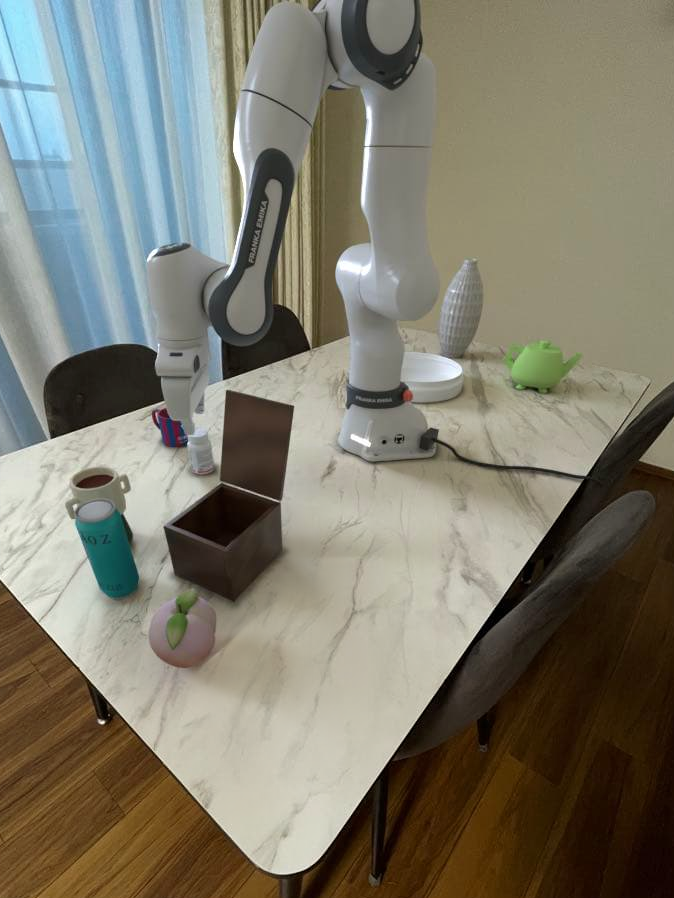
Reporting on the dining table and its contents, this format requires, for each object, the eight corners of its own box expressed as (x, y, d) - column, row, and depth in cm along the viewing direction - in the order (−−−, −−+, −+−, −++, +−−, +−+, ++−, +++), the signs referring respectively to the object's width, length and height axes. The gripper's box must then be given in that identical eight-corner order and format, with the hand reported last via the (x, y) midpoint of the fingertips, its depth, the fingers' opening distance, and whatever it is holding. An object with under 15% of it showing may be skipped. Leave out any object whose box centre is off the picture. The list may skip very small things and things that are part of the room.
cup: (175, 449, 106) (170, 421, 102) (148, 436, 111) (141, 409, 106) (198, 438, 110) (193, 411, 106) (170, 427, 115) (165, 400, 111)
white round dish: (447, 368, 149) (450, 351, 146) (473, 402, 128) (478, 383, 125) (362, 368, 148) (364, 351, 145) (375, 403, 127) (377, 383, 124)
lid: (291, 406, 66) (294, 405, 67) (225, 389, 70) (229, 389, 71) (279, 501, 72) (282, 499, 73) (219, 480, 76) (222, 479, 77)
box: (233, 602, 70) (227, 552, 63) (174, 575, 74) (163, 525, 68) (282, 551, 79) (281, 502, 73) (227, 529, 83) (221, 482, 77)
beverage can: (107, 577, 74) (78, 497, 64) (144, 575, 74) (121, 496, 64) (97, 604, 69) (65, 523, 60) (137, 602, 70) (111, 521, 60)
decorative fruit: (162, 631, 65) (147, 579, 59) (222, 627, 66) (213, 575, 60) (151, 689, 58) (133, 638, 52) (218, 684, 59) (208, 633, 52)
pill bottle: (218, 465, 101) (213, 429, 95) (207, 476, 97) (202, 439, 92) (198, 462, 102) (193, 426, 96) (187, 472, 98) (180, 435, 93)
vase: (434, 359, 155) (451, 262, 138) (432, 348, 165) (448, 255, 147) (473, 362, 154) (495, 264, 136) (469, 350, 164) (490, 257, 146)
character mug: (129, 520, 85) (110, 456, 77) (154, 535, 82) (137, 470, 74) (74, 550, 78) (47, 484, 70) (98, 568, 75) (73, 501, 67)
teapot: (569, 383, 140) (585, 339, 132) (569, 399, 131) (586, 353, 123) (499, 373, 146) (510, 330, 138) (494, 388, 136) (506, 343, 128)
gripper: (180, 333, 92) (190, 401, 101) (151, 369, 76) (166, 446, 85) (212, 334, 92) (219, 401, 101) (190, 370, 76) (201, 447, 85)
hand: (195, 422), depth 93 cm, fingers open, 8 cm apart
